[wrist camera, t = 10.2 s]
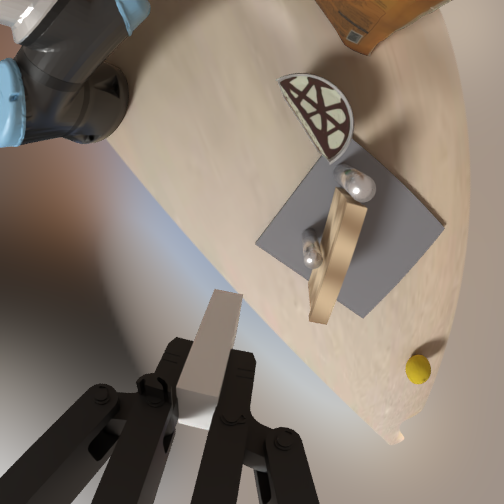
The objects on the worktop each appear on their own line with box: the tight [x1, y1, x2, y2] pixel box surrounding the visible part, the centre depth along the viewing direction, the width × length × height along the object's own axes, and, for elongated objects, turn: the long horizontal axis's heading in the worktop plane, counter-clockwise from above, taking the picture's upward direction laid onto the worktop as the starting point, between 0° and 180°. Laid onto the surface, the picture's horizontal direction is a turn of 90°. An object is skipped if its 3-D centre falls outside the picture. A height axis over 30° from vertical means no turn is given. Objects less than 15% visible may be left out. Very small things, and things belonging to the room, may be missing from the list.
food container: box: [276, 73, 354, 165], centre depth 33 cm, size 12×6×10 cm, turn 33°
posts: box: [302, 164, 376, 269], centre depth 36 cm, size 3×14×13 cm, turn 156°
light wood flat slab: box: [308, 187, 367, 325], centre depth 37 cm, size 16×2×10 cm, turn 169°
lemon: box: [406, 355, 431, 384], centre depth 49 cm, size 6×6×8 cm
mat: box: [256, 139, 445, 318], centre depth 43 cm, size 24×22×1 cm
